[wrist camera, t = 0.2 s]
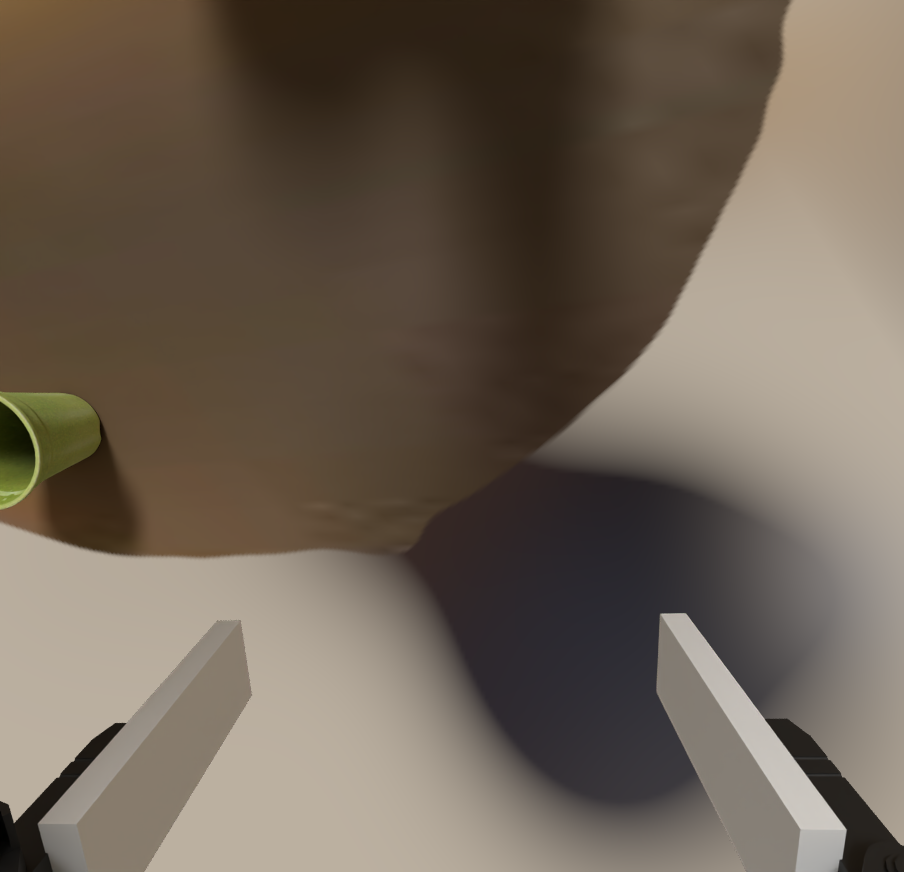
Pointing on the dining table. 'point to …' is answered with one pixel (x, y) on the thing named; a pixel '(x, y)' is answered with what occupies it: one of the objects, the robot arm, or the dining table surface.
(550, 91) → the dining table surface
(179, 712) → the robot arm
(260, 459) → the dining table surface
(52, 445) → the plant pot
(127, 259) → the dining table surface
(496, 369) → the dining table surface
